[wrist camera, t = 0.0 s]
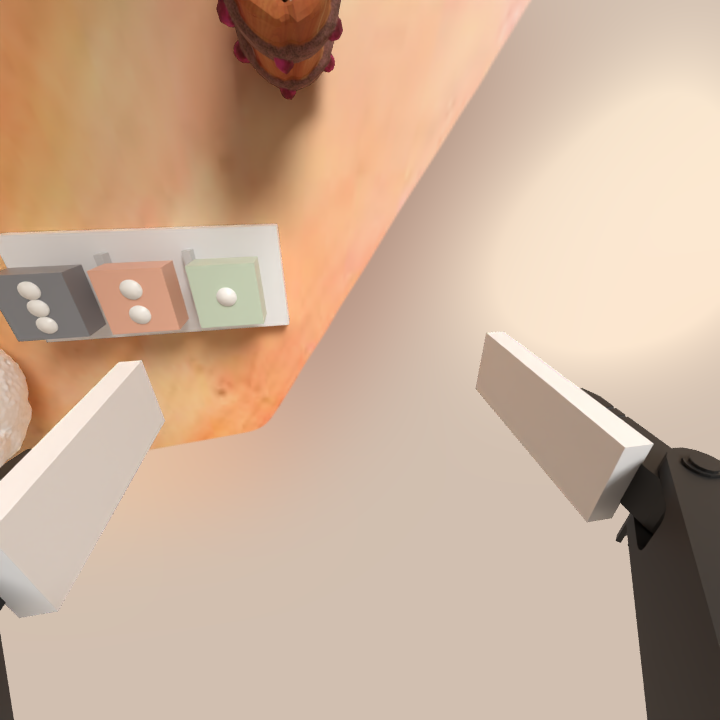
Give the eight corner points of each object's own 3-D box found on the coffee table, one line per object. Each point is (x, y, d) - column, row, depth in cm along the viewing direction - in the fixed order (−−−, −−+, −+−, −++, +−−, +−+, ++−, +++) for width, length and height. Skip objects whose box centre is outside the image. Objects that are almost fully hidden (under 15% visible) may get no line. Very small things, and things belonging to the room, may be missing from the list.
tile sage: (194, 259, 32) (184, 266, 29) (257, 256, 33) (253, 263, 30) (208, 317, 35) (201, 328, 32) (266, 313, 36) (263, 324, 33)
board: (6, 232, 32) (-21, 237, 29) (277, 223, 35) (275, 227, 33) (58, 334, 37) (39, 347, 35) (289, 318, 41) (288, 328, 38)
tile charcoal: (8, 267, 30) (-21, 276, 27) (81, 264, 31) (59, 272, 28) (40, 328, 33) (17, 342, 30) (106, 324, 33) (89, 336, 31)
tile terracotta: (104, 263, 31) (85, 271, 28) (172, 260, 32) (160, 267, 29) (127, 322, 34) (112, 335, 31) (189, 318, 34) (179, 330, 32)
